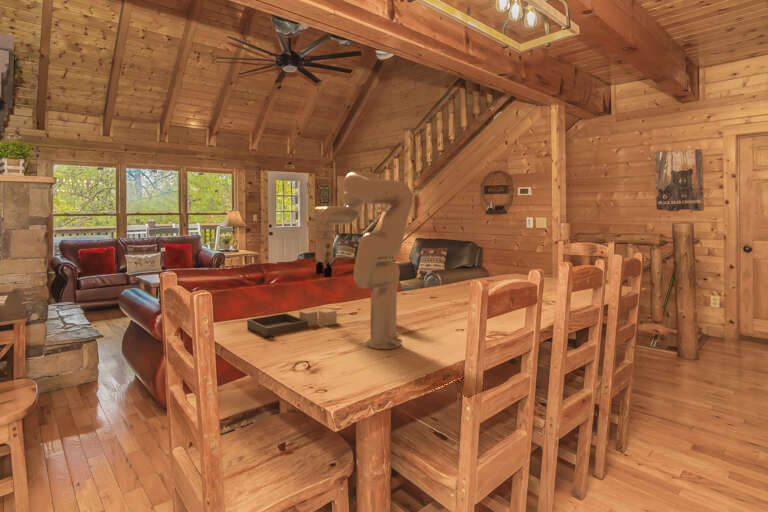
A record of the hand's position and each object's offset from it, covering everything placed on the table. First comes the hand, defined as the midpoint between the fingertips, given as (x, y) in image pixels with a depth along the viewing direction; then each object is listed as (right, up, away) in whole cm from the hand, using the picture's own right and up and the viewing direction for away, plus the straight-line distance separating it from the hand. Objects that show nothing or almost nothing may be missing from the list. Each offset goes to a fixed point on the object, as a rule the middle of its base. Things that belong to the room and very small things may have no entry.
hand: (323, 275), depth 192 cm
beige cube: (-6, -21, -2) cm, 22 cm away
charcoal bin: (-18, -22, -7) cm, 29 cm away
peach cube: (+2, -21, 0) cm, 21 cm away
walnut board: (-2, -22, 0) cm, 22 cm away
